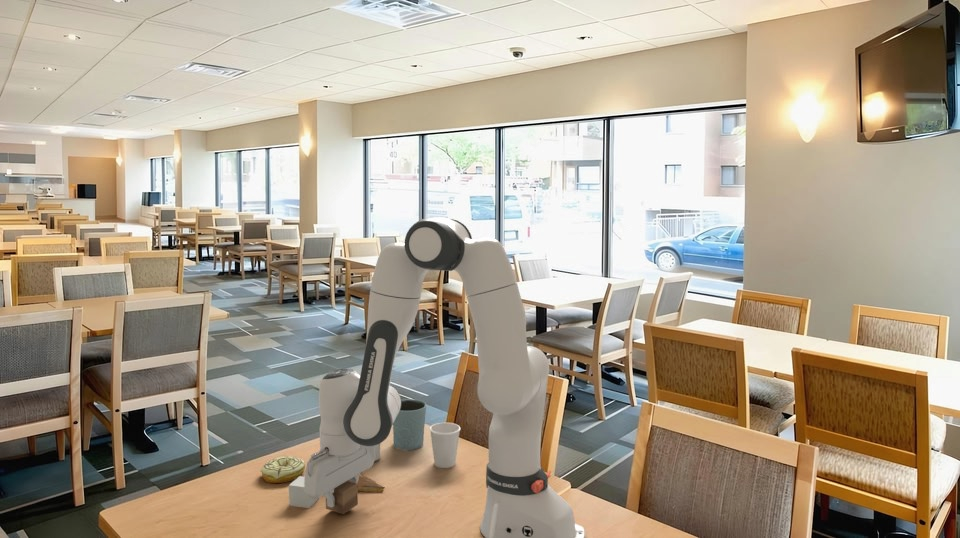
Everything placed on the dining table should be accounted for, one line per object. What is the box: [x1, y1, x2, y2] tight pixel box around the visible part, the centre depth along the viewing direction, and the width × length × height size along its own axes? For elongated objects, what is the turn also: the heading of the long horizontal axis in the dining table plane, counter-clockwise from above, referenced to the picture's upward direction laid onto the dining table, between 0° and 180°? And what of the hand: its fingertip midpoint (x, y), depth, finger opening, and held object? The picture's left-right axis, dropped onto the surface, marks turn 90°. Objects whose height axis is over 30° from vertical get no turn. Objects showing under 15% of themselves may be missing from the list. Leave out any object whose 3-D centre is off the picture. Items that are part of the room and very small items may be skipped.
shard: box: [348, 474, 386, 493], centre depth 157 cm, size 11×8×2 cm
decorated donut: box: [260, 455, 306, 484], centre depth 164 cm, size 10×11×4 cm
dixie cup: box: [429, 422, 461, 469], centre depth 172 cm, size 8×8×10 cm
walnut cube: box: [325, 481, 359, 515], centre depth 145 cm, size 5×5×5 cm
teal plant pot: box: [392, 398, 427, 451], centre depth 185 cm, size 10×10×12 cm
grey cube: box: [288, 475, 320, 509], centre depth 150 cm, size 5×5×5 cm
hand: (341, 499), depth 145 cm, fingers closed on walnut cube, 5 cm apart
